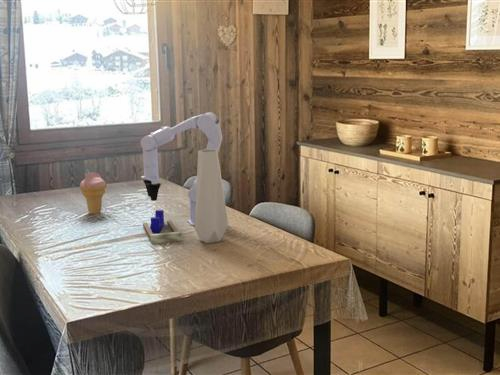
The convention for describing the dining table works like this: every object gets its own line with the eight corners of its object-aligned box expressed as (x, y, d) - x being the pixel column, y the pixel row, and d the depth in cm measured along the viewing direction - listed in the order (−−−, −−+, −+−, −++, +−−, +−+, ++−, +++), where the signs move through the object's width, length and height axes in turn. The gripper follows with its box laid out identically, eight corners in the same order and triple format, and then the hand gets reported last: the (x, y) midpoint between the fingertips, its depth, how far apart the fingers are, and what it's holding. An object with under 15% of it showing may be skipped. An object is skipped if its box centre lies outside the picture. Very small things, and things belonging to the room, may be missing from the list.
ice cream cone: (76, 214, 258) (73, 168, 254) (92, 208, 268) (89, 164, 264) (98, 217, 254) (94, 170, 250) (113, 210, 264) (110, 165, 260)
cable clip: (152, 224, 242) (152, 210, 241) (164, 224, 242) (163, 210, 241) (147, 233, 231) (146, 218, 229) (159, 233, 231) (158, 218, 229)
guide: (171, 225, 241) (170, 217, 240) (181, 240, 221) (181, 232, 220) (143, 227, 238) (142, 220, 237) (151, 243, 218) (150, 235, 217)
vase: (232, 236, 225) (231, 148, 218) (221, 245, 214) (219, 153, 207) (202, 233, 229) (199, 147, 222) (189, 242, 218) (186, 152, 211)
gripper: (138, 162, 248) (140, 195, 251) (143, 169, 235) (145, 203, 238) (155, 161, 250) (157, 193, 253) (161, 167, 237) (163, 201, 240)
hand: (152, 198), depth 246 cm, fingers open, 7 cm apart
